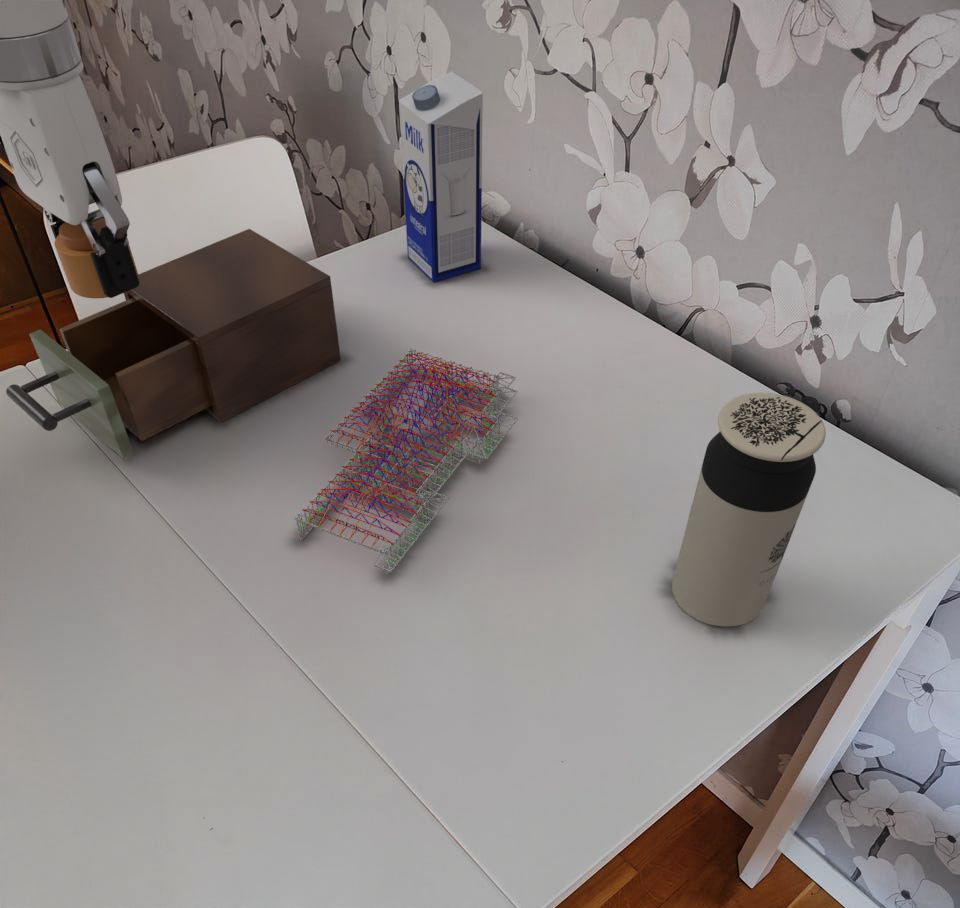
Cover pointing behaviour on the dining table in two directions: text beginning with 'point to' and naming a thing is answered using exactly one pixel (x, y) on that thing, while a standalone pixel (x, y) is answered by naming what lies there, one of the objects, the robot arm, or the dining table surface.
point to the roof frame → (436, 430)
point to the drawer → (118, 375)
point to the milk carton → (443, 176)
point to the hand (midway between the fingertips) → (102, 275)
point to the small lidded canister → (80, 259)
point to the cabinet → (246, 317)
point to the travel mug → (746, 506)
